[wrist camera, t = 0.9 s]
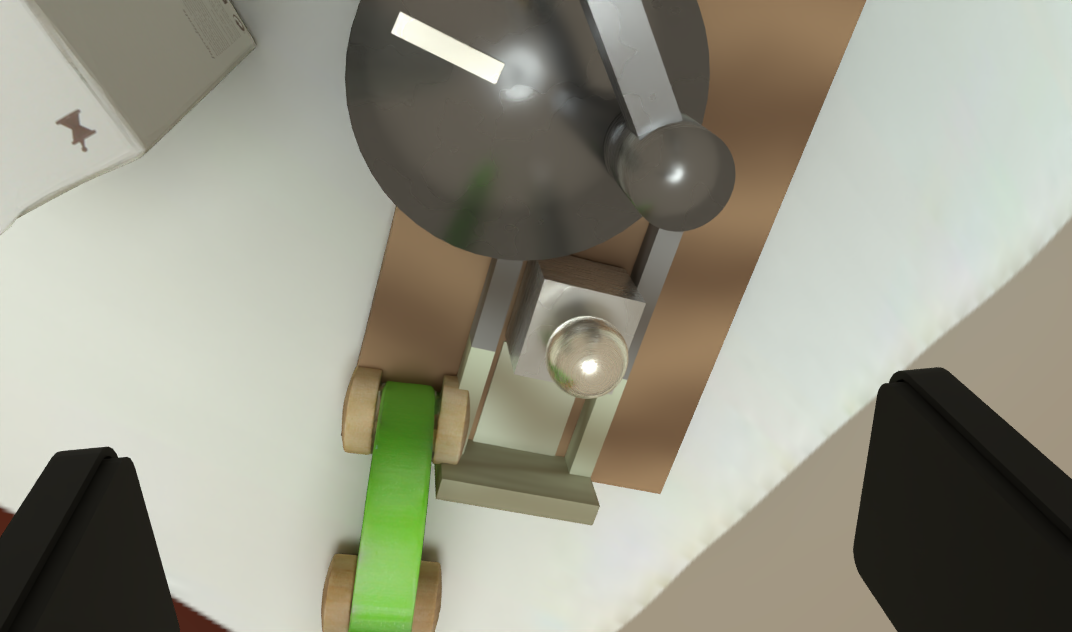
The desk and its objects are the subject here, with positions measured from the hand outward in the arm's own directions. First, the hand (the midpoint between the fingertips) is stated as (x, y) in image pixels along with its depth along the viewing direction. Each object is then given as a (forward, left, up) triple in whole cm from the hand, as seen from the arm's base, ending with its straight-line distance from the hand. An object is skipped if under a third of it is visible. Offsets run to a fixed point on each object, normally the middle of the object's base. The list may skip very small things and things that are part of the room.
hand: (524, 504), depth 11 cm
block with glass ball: (+6, +6, -24) cm, 25 cm away
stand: (+3, +6, -25) cm, 26 cm away
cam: (-3, +2, -23) cm, 24 cm away
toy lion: (+18, +2, -25) cm, 31 cm away
